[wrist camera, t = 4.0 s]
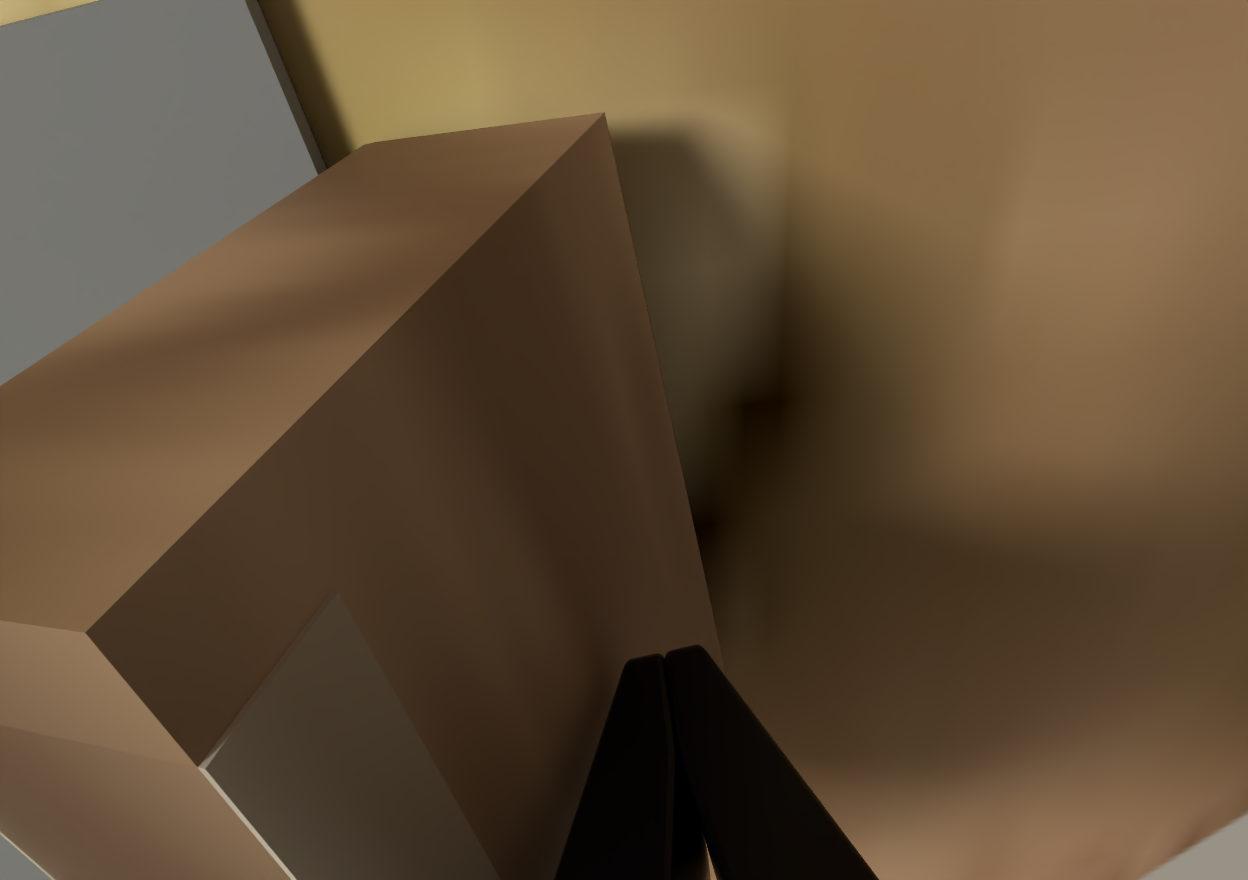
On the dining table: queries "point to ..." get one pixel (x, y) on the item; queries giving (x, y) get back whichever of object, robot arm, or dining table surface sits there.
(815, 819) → the robot arm
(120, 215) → the mat
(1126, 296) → the dining table surface
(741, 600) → the dining table surface
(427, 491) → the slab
